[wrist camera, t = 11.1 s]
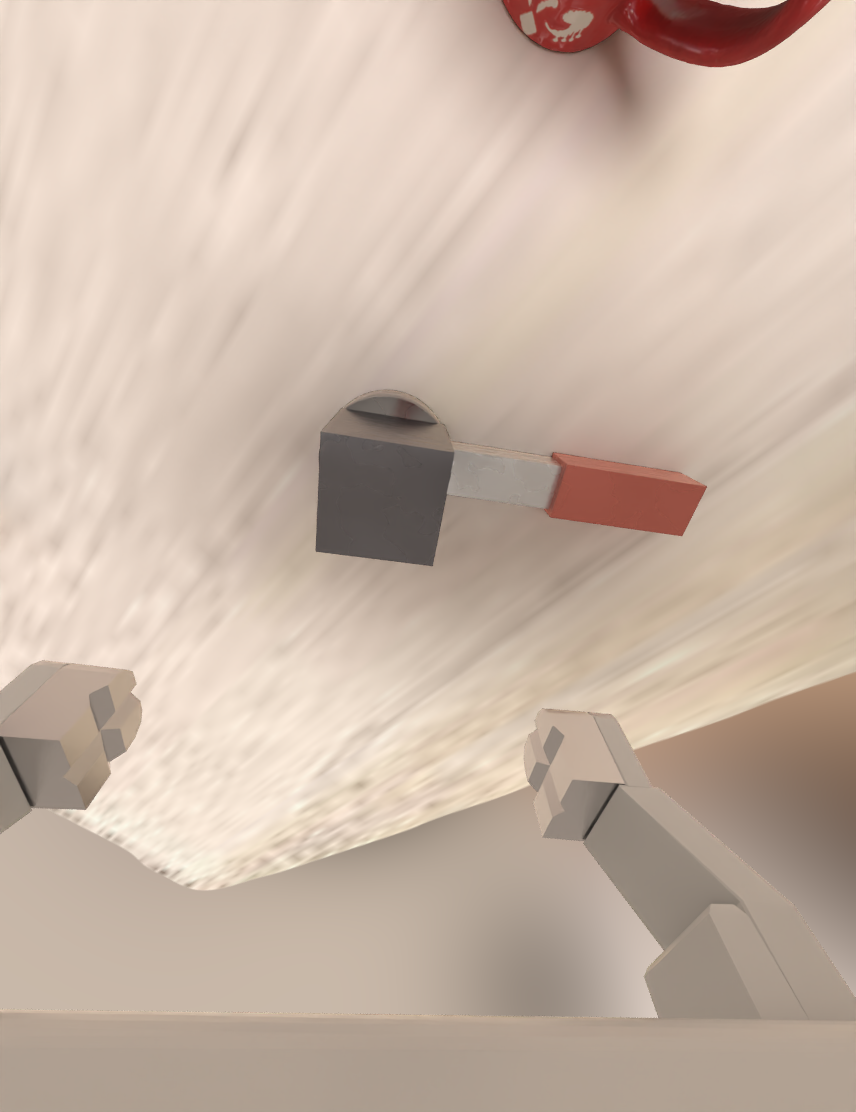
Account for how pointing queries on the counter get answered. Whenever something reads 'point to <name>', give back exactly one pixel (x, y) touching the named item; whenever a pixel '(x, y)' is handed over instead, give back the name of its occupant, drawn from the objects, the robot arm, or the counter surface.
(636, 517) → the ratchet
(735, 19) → the mug
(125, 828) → the counter surface
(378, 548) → the matte grey cube
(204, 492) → the counter surface
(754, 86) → the counter surface
